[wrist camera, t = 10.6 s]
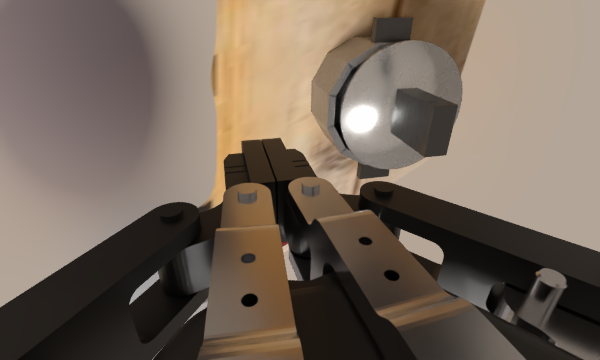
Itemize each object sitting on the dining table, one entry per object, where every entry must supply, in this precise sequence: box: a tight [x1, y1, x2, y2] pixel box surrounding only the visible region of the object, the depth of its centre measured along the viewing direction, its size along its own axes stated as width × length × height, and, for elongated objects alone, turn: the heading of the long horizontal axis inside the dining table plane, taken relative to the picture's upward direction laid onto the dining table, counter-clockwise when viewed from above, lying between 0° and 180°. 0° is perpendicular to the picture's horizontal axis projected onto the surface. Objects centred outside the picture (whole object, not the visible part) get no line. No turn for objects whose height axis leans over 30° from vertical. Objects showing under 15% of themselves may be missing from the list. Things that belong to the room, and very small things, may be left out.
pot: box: [311, 17, 413, 179], centre depth 41 cm, size 19×14×7 cm
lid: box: [340, 40, 462, 169], centre depth 34 cm, size 15×15×8 cm
